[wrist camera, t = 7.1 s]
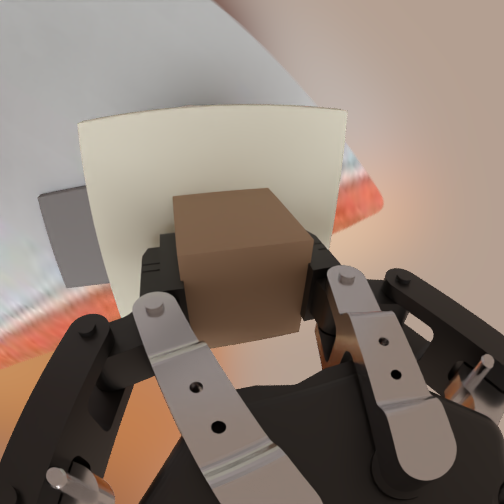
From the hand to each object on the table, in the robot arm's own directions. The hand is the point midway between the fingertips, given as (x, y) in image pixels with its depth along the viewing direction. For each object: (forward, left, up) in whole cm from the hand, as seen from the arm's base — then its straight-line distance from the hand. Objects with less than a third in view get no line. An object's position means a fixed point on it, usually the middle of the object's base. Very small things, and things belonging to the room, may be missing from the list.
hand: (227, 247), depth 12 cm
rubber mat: (+10, -12, -22) cm, 27 cm away
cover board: (0, 0, -2) cm, 2 cm away
